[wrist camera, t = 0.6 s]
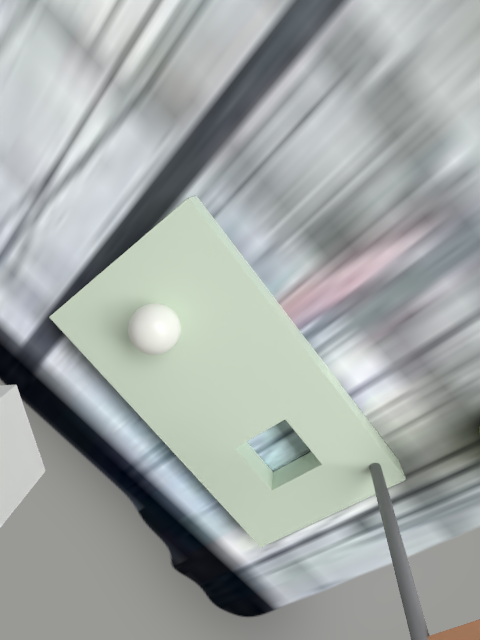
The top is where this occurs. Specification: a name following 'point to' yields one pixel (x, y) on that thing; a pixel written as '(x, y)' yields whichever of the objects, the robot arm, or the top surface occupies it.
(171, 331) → the ball
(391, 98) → the top surface
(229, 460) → the green
